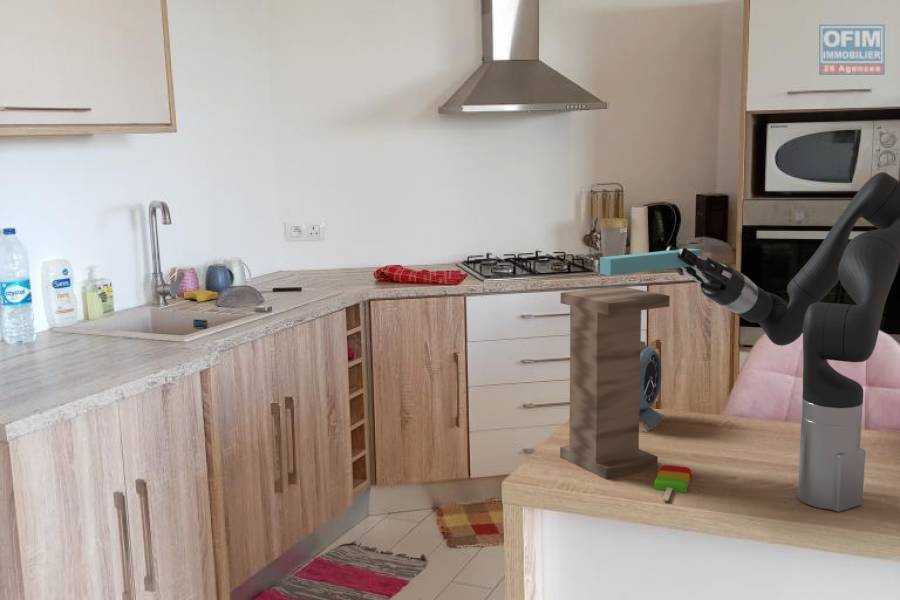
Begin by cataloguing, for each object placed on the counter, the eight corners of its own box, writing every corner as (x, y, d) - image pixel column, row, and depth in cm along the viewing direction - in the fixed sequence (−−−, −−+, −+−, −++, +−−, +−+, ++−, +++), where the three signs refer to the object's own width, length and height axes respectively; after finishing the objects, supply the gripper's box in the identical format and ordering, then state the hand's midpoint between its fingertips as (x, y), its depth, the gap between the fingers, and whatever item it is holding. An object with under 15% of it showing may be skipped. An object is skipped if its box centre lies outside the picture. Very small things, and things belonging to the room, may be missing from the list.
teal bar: (700, 265, 179) (701, 249, 178) (610, 275, 168) (610, 259, 168) (689, 263, 181) (689, 248, 181) (599, 273, 171) (600, 257, 170)
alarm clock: (645, 434, 192) (646, 350, 189) (600, 427, 197) (601, 345, 194) (667, 416, 204) (669, 337, 201) (625, 410, 209) (626, 333, 206)
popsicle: (691, 476, 169) (692, 466, 169) (681, 507, 155) (682, 496, 155) (660, 473, 171) (661, 463, 171) (648, 503, 157) (648, 492, 157)
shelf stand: (665, 464, 174) (669, 295, 169) (606, 479, 167) (608, 303, 162) (617, 444, 186) (619, 285, 181) (560, 456, 179) (560, 292, 174)
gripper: (711, 267, 192) (656, 230, 183) (764, 275, 180) (708, 236, 171) (696, 300, 191) (641, 265, 183) (749, 310, 179) (692, 273, 171)
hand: (674, 251), depth 177 cm, fingers closed on teal bar, 3 cm apart
